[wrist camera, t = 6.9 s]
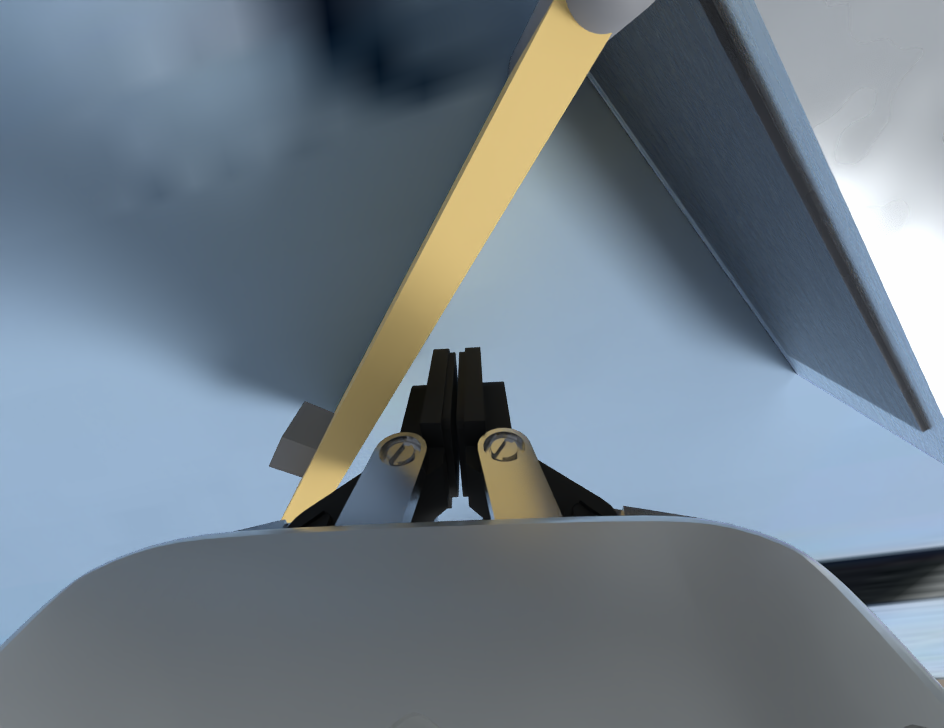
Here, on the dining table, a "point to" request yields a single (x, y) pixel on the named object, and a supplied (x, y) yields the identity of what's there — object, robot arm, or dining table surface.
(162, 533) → the dining table surface
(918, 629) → the dining table surface
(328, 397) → the dining table surface
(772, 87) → the aluminium camera mock-up
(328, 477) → the ochre side door
